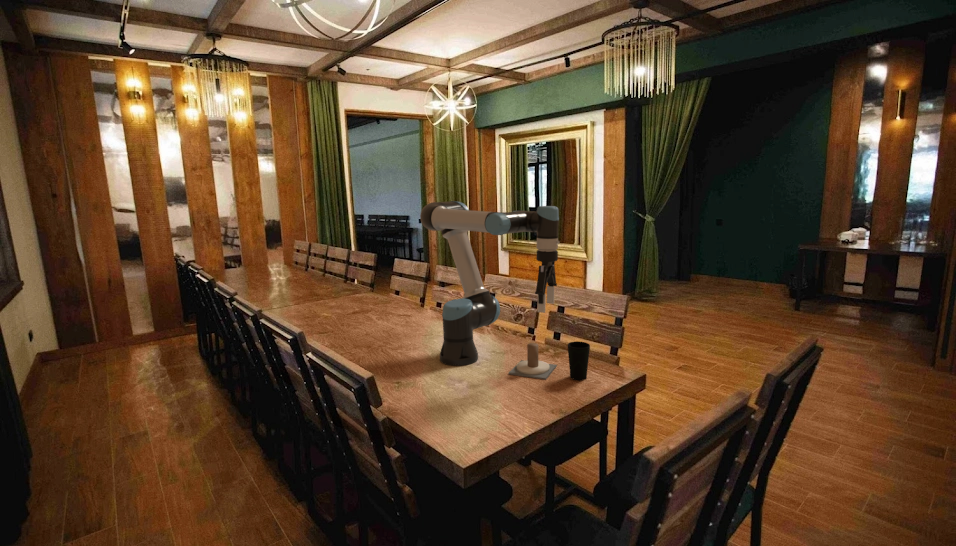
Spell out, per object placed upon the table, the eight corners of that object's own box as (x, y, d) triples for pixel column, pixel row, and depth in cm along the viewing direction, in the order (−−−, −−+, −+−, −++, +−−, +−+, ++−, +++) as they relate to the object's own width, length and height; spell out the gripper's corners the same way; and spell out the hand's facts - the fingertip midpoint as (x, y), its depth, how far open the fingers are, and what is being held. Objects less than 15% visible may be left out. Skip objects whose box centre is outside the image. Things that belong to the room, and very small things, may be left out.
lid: (512, 372, 174) (511, 347, 172) (522, 361, 185) (522, 338, 183) (544, 376, 169) (544, 351, 167) (553, 365, 180) (553, 341, 178)
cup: (589, 382, 164) (590, 348, 162) (567, 381, 166) (567, 347, 164) (589, 374, 172) (589, 341, 170) (567, 372, 173) (567, 340, 171)
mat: (508, 374, 173) (508, 372, 173) (521, 361, 186) (521, 360, 186) (546, 379, 168) (546, 378, 168) (556, 366, 180) (556, 364, 180)
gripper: (549, 255, 158) (547, 317, 162) (564, 246, 181) (563, 300, 185) (527, 254, 161) (526, 315, 165) (545, 245, 184) (544, 299, 188)
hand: (546, 307), depth 175 cm, fingers open, 13 cm apart
